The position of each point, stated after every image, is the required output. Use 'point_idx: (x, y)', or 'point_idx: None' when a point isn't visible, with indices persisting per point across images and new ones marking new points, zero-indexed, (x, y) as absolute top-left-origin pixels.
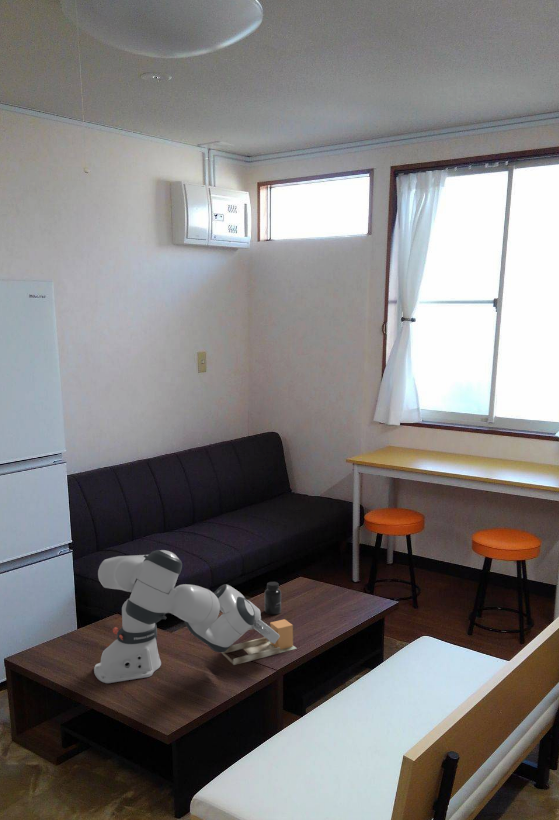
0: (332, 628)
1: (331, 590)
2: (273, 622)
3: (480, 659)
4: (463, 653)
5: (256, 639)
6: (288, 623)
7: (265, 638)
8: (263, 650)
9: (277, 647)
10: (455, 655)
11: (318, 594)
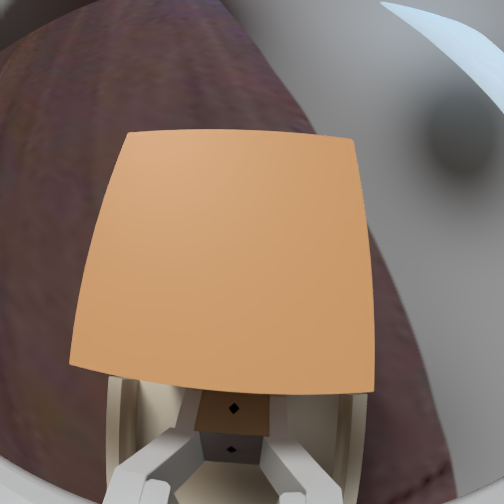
0: (204, 45)
1: (52, 25)
2: (97, 318)
3: (467, 28)
4: (447, 21)
5: (111, 471)
6: (278, 150)
7: (123, 396)
8: (243, 477)
9: (356, 414)
10: (453, 28)
11: (36, 43)
